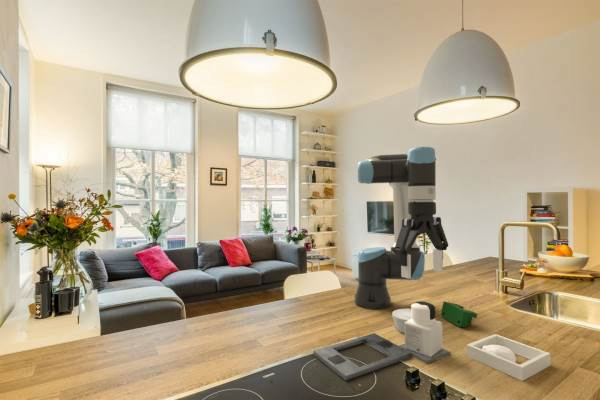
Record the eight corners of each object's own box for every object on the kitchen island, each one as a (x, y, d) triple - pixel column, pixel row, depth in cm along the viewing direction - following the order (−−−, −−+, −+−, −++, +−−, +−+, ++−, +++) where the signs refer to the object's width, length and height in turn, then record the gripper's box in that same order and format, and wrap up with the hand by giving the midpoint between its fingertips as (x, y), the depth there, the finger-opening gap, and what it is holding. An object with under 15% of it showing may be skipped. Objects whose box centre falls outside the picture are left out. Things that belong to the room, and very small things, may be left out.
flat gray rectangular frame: (313, 354, 89) (313, 350, 89) (374, 336, 100) (374, 332, 100) (345, 380, 76) (345, 375, 76) (411, 356, 87) (411, 352, 87)
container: (417, 340, 96) (416, 297, 96) (442, 348, 90) (442, 303, 90) (404, 348, 91) (403, 303, 91) (430, 358, 85) (430, 310, 85)
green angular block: (469, 338, 109) (482, 318, 106) (454, 335, 108) (466, 315, 105) (452, 313, 120) (462, 294, 117) (438, 310, 119) (448, 291, 116)
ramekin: (391, 333, 103) (391, 317, 103) (393, 321, 113) (393, 306, 113) (428, 338, 99) (427, 322, 99) (426, 325, 110) (426, 310, 110)
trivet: (398, 348, 92) (397, 345, 92) (421, 340, 97) (421, 338, 97) (426, 363, 84) (426, 360, 84) (450, 354, 89) (450, 351, 89)
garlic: (482, 363, 84) (482, 349, 84) (480, 352, 90) (479, 339, 90) (518, 370, 81) (518, 355, 81) (513, 358, 87) (513, 344, 87)
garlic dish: (466, 356, 87) (466, 344, 88) (495, 344, 94) (495, 333, 94) (522, 381, 75) (522, 367, 75) (550, 365, 82) (550, 353, 82)
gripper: (401, 201, 81) (402, 283, 81) (460, 200, 94) (461, 271, 94) (380, 201, 88) (381, 277, 88) (438, 200, 100) (439, 267, 100)
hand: (422, 274), depth 91 cm, fingers open, 13 cm apart
